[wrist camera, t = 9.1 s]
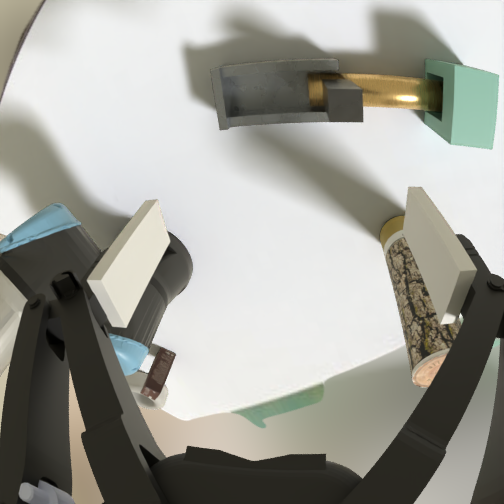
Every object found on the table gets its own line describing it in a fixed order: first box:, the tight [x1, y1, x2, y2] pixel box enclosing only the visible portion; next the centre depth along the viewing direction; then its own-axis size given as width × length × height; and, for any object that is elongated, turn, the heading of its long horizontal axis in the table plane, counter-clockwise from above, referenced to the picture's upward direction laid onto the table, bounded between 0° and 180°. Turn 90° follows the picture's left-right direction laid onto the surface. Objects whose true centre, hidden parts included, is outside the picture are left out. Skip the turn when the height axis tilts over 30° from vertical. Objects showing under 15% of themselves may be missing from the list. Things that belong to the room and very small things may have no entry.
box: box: [140, 347, 176, 400], centre depth 72 cm, size 6×4×12 cm
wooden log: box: [380, 216, 461, 388], centre depth 36 cm, size 7×7×25 cm
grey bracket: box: [210, 58, 339, 130], centre depth 34 cm, size 14×7×6 cm, turn 97°
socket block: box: [424, 59, 499, 150], centre depth 28 cm, size 6×9×9 cm, turn 7°
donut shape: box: [125, 371, 168, 410], centre depth 87 cm, size 15×15×7 cm
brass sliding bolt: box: [307, 73, 443, 122], centre depth 28 cm, size 20×4×12 cm, turn 97°
